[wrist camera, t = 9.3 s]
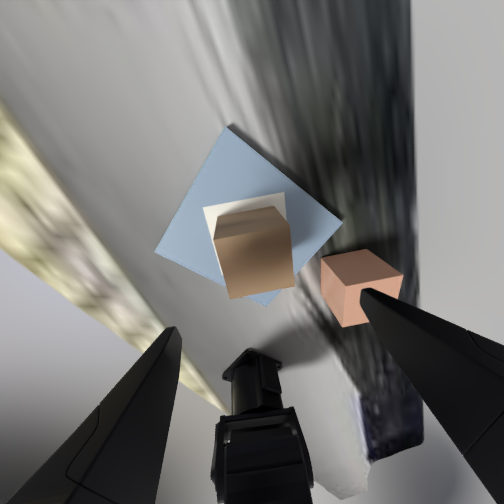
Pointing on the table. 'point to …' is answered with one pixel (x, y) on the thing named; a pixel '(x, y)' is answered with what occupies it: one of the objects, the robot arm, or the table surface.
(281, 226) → the walnut block
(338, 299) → the terracotta block
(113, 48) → the table surface
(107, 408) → the robot arm
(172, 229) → the board
